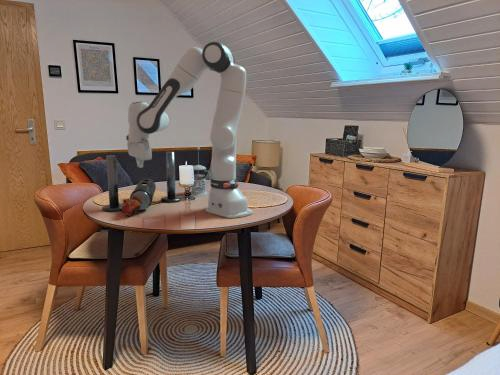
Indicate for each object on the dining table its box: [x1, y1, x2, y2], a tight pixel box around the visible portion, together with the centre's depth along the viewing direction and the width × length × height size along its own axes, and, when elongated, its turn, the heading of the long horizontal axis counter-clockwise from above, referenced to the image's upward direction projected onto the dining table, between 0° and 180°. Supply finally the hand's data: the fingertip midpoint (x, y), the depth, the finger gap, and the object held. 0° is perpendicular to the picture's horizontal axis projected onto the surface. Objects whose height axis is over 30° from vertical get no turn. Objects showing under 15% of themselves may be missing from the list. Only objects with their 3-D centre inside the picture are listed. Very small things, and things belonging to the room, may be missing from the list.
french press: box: [190, 146, 212, 196], centre depth 193 cm, size 10×12×25 cm
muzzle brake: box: [129, 177, 157, 211], centre depth 169 cm, size 10×28×10 cm, turn 10°
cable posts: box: [102, 151, 183, 213], centre depth 167 cm, size 10×38×24 cm, turn 128°
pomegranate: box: [122, 198, 141, 217], centre depth 152 cm, size 7×7×10 cm
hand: (140, 167), depth 168 cm, fingers closed
